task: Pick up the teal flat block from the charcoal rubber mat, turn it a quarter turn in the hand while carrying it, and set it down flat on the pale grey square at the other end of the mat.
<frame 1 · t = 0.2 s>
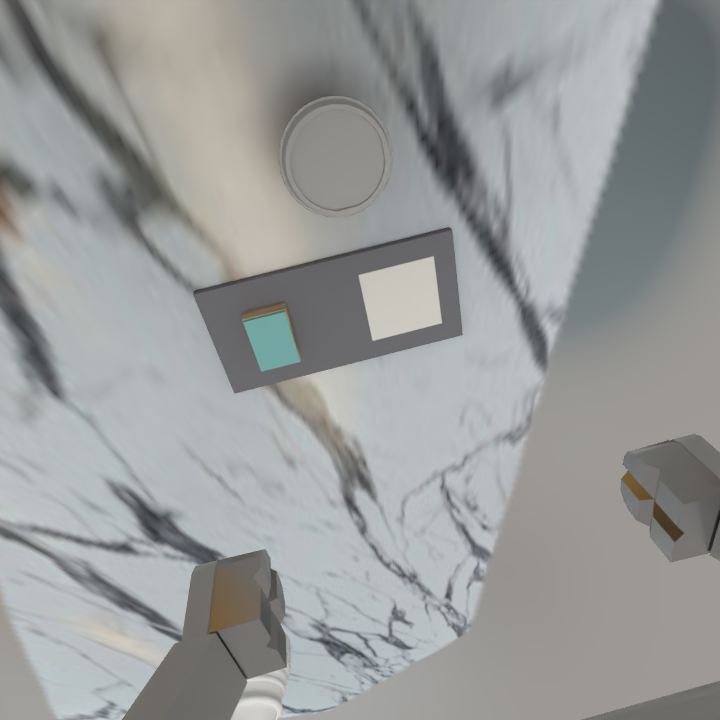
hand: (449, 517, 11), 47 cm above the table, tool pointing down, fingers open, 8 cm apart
honey pot: (255, 644, 94), on the table
rubber mat: (336, 312, 61), on the table
disposable coffee cup: (323, 141, 51), on the table
teal flat block: (272, 332, 60), point 1 cm above the table, touching rubber mat
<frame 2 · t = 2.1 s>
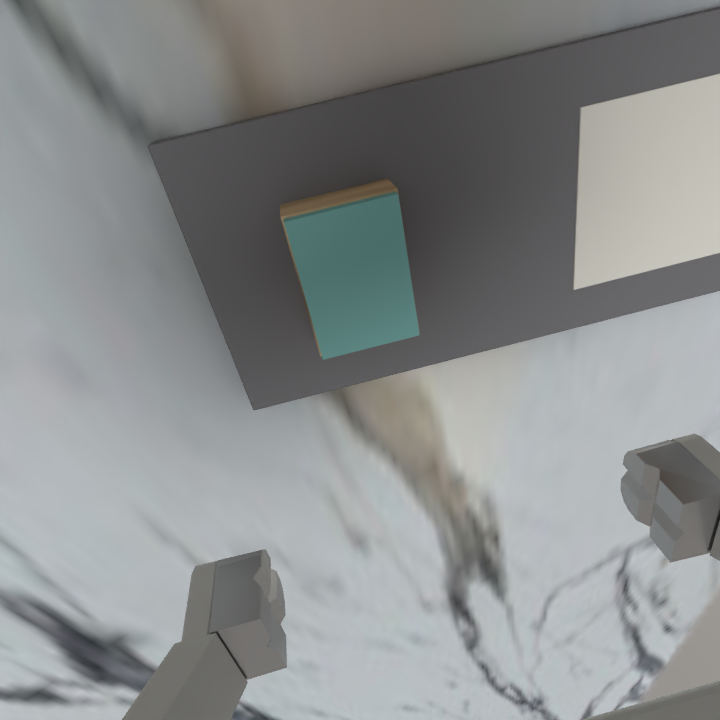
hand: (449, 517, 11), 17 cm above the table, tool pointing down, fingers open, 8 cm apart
rubber mat: (499, 218, 25), on the table
teal flat block: (349, 263, 24), point 1 cm above the table, touching rubber mat
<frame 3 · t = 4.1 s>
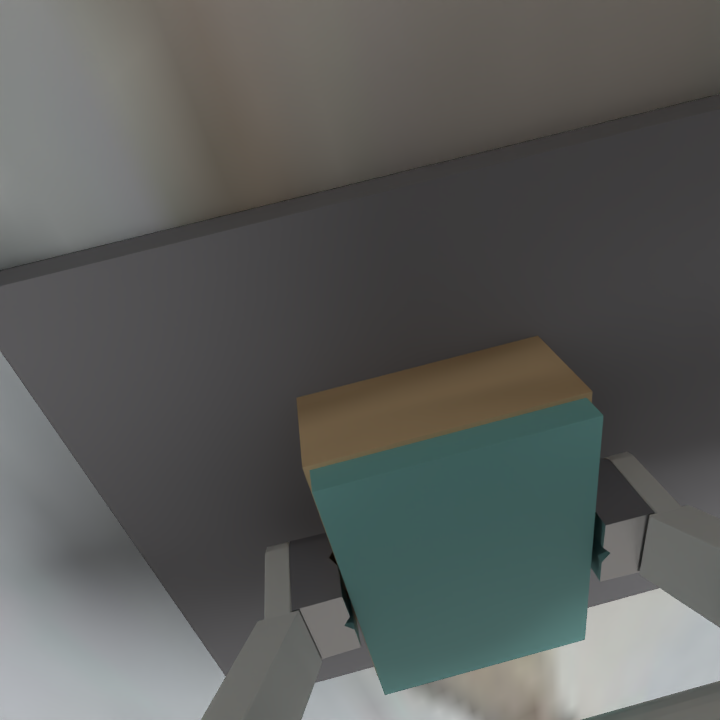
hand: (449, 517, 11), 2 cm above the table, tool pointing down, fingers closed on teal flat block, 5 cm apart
teal flat block: (437, 487, 12), point 1 cm above the table, touching gripper, rubber mat
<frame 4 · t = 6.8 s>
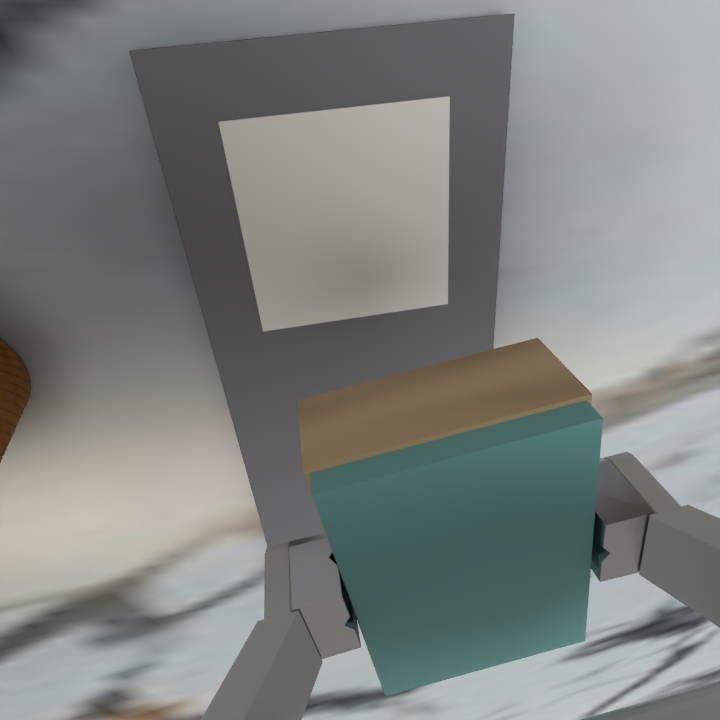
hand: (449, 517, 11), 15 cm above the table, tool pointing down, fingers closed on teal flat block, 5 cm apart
rubber mat: (359, 366, 27), on the table
teal flat block: (437, 488, 12), point 14 cm above the table, touching gripper
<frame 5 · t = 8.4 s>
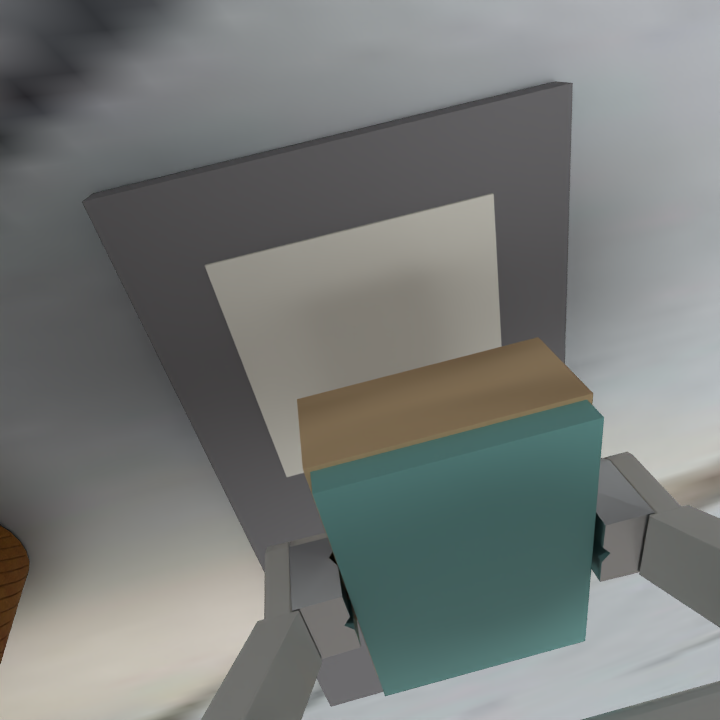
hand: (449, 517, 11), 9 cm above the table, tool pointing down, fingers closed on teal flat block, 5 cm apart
rubber mat: (403, 488, 23), on the table
teal flat block: (438, 488, 12), point 8 cm above the table, touching gripper
when the fingers open (4 cm above the table, at t = 9.7 s): teal flat block drops 2 cm, resting on rubber mat.
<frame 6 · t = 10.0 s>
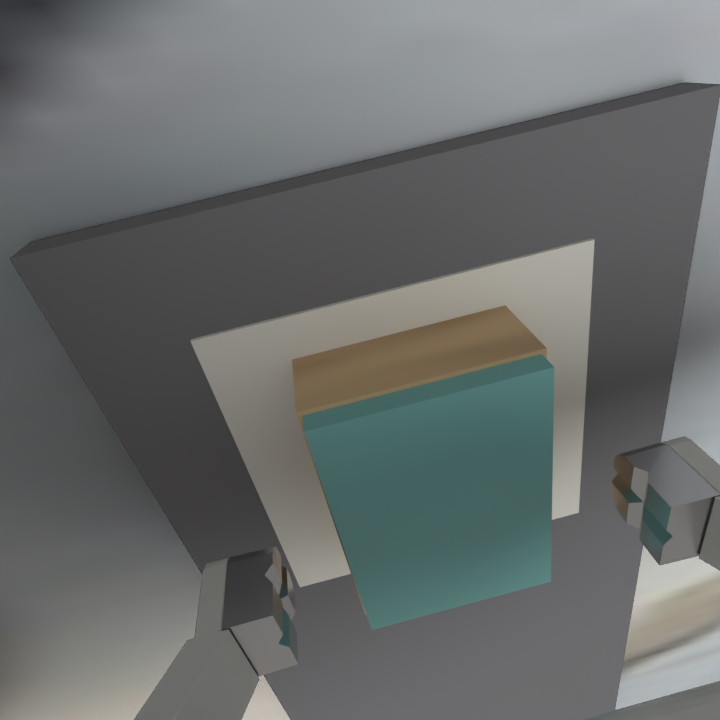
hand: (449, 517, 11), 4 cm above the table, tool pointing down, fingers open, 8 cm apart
rubber mat: (442, 584, 18), on the table
teal flat block: (419, 445, 13), point 1 cm above the table, touching rubber mat
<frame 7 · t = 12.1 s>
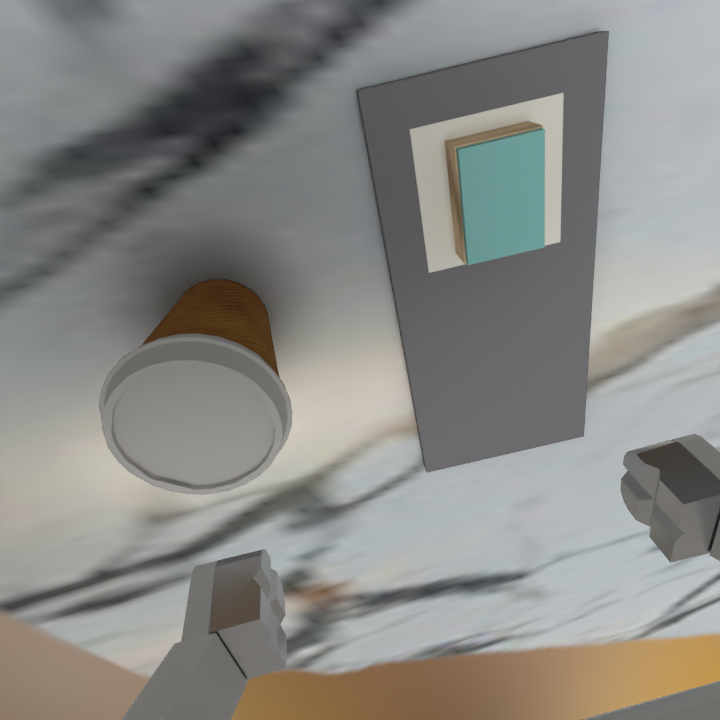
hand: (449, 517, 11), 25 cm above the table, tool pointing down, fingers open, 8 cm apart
rubber mat: (491, 296, 36), on the table
disposable coffee cup: (223, 319, 35), on the table
teal flat block: (489, 191, 31), point 1 cm above the table, touching rubber mat
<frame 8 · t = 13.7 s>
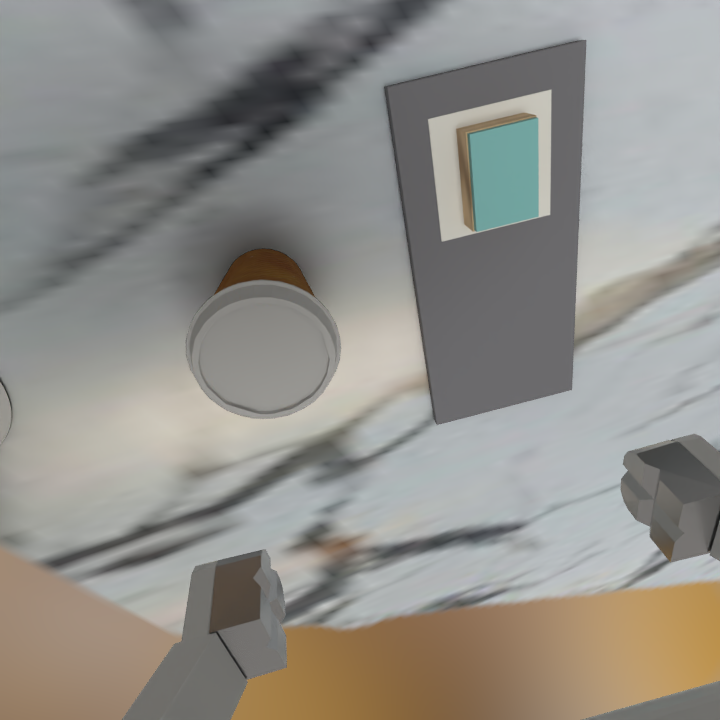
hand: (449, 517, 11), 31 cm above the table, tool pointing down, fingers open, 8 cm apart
rubber mat: (493, 264, 43), on the table
disposable coffee cup: (265, 285, 41), on the table
teal flat block: (492, 171, 37), point 1 cm above the table, touching rubber mat
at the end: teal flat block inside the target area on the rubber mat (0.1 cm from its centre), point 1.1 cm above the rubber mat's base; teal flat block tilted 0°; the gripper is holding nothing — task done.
